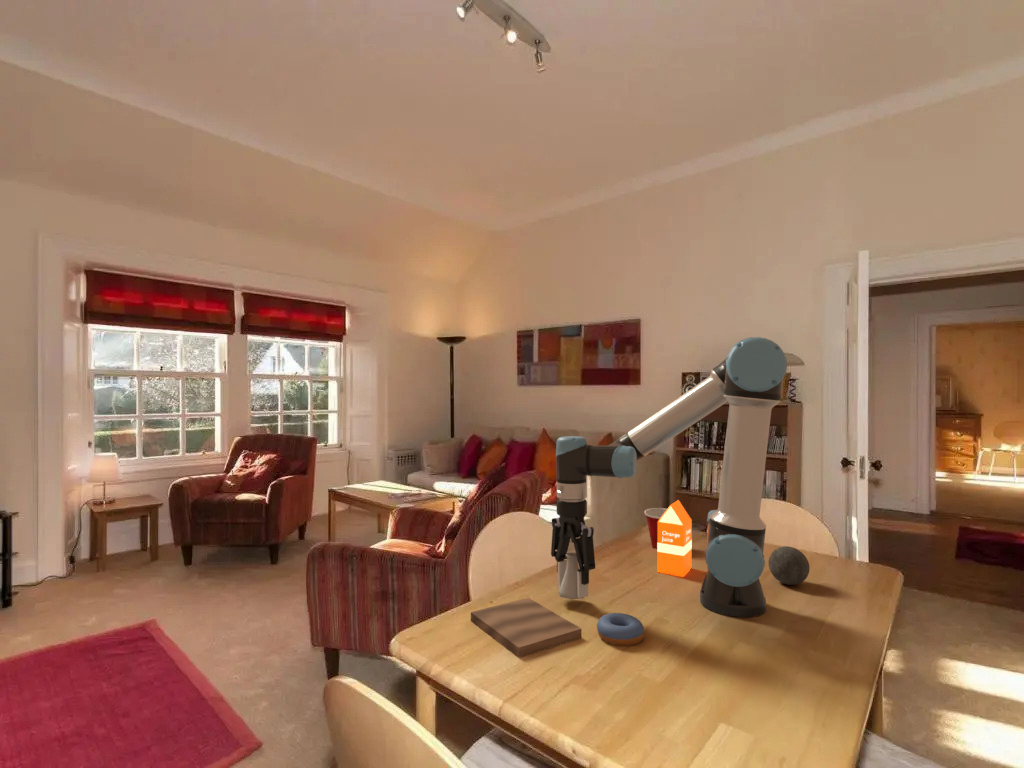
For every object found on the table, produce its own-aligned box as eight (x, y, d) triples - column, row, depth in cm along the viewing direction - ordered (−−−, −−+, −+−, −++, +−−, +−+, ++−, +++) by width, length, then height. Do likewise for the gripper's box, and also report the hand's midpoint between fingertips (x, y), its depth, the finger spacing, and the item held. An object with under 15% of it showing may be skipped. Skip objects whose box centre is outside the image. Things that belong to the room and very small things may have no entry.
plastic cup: (641, 550, 180) (641, 513, 180) (646, 541, 190) (646, 506, 190) (675, 553, 176) (676, 516, 176) (679, 544, 186) (679, 509, 186)
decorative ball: (812, 592, 144) (812, 554, 144) (770, 587, 147) (771, 550, 147) (805, 579, 153) (805, 543, 153) (766, 575, 156) (766, 540, 156)
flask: (586, 601, 131) (585, 559, 132) (556, 599, 133) (555, 557, 133) (588, 590, 139) (588, 550, 139) (559, 588, 140) (559, 549, 140)
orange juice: (692, 568, 162) (692, 500, 162) (683, 577, 155) (684, 506, 155) (665, 563, 166) (665, 497, 166) (656, 572, 159) (656, 503, 159)
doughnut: (587, 630, 120) (589, 610, 120) (625, 625, 124) (627, 605, 124) (612, 655, 111) (614, 633, 111) (652, 648, 115) (655, 627, 115)
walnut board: (581, 638, 117) (581, 628, 117) (518, 657, 108) (518, 647, 108) (528, 606, 134) (528, 597, 134) (470, 620, 125) (470, 612, 125)
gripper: (536, 494, 142) (537, 583, 142) (586, 507, 125) (587, 608, 125) (559, 491, 146) (560, 577, 146) (610, 503, 130) (611, 601, 129)
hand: (572, 591), depth 136 cm, fingers closed on flask, 7 cm apart
